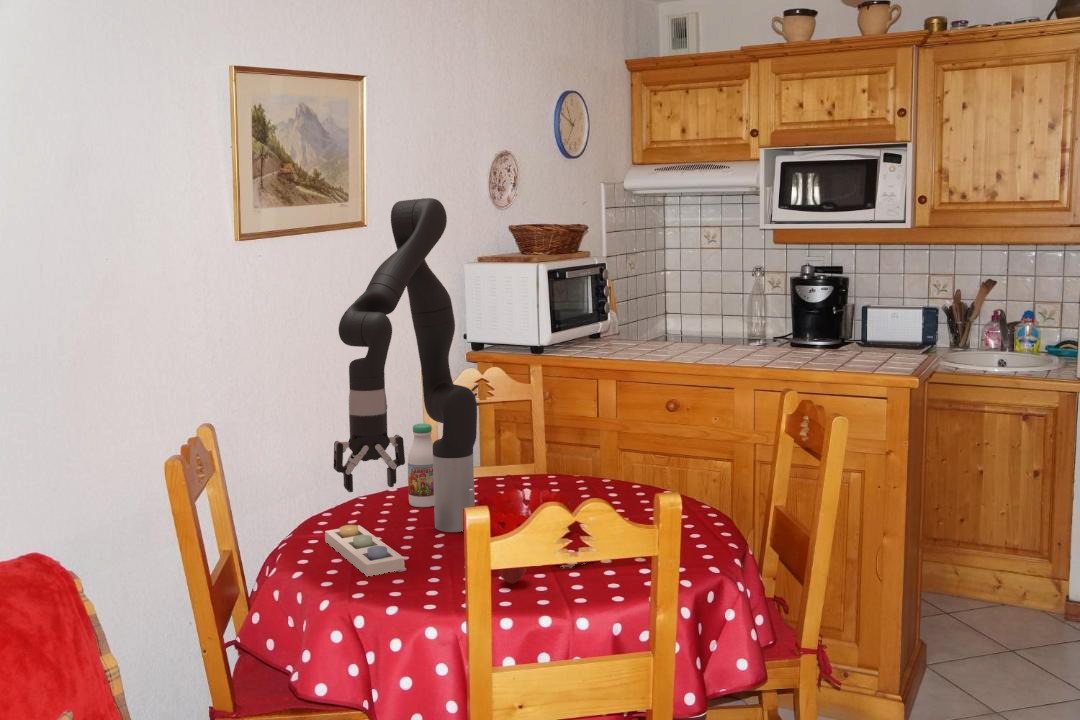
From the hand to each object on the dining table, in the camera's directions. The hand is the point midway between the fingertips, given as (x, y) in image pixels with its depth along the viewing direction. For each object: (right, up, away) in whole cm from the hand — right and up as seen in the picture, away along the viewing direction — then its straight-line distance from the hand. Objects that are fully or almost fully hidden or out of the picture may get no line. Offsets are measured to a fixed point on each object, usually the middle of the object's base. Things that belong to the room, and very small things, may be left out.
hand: (370, 488), depth 213 cm
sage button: (-3, -13, +9) cm, 17 cm away
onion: (+29, -18, -8) cm, 35 cm away
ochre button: (-7, -12, +17) cm, 22 cm away
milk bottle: (+6, -10, +48) cm, 49 cm away
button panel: (-3, -15, +10) cm, 18 cm away
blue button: (+1, -15, +2) cm, 15 cm away
